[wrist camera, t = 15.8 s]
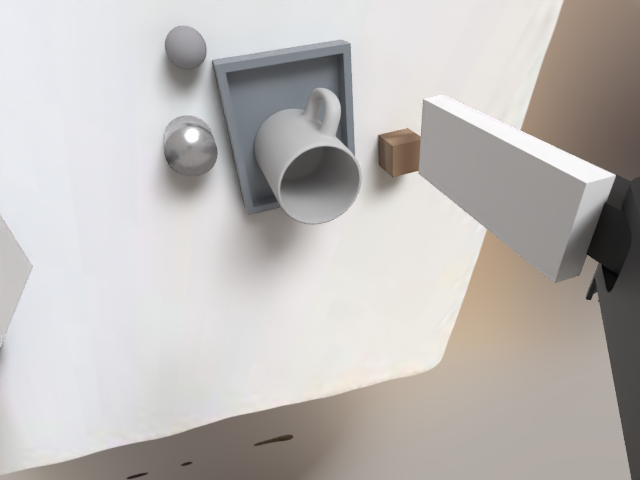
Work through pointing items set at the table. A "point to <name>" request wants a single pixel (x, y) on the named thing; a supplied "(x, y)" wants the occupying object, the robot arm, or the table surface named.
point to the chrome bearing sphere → (189, 146)
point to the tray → (279, 102)
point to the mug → (308, 160)
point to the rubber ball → (185, 47)
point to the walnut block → (399, 152)
